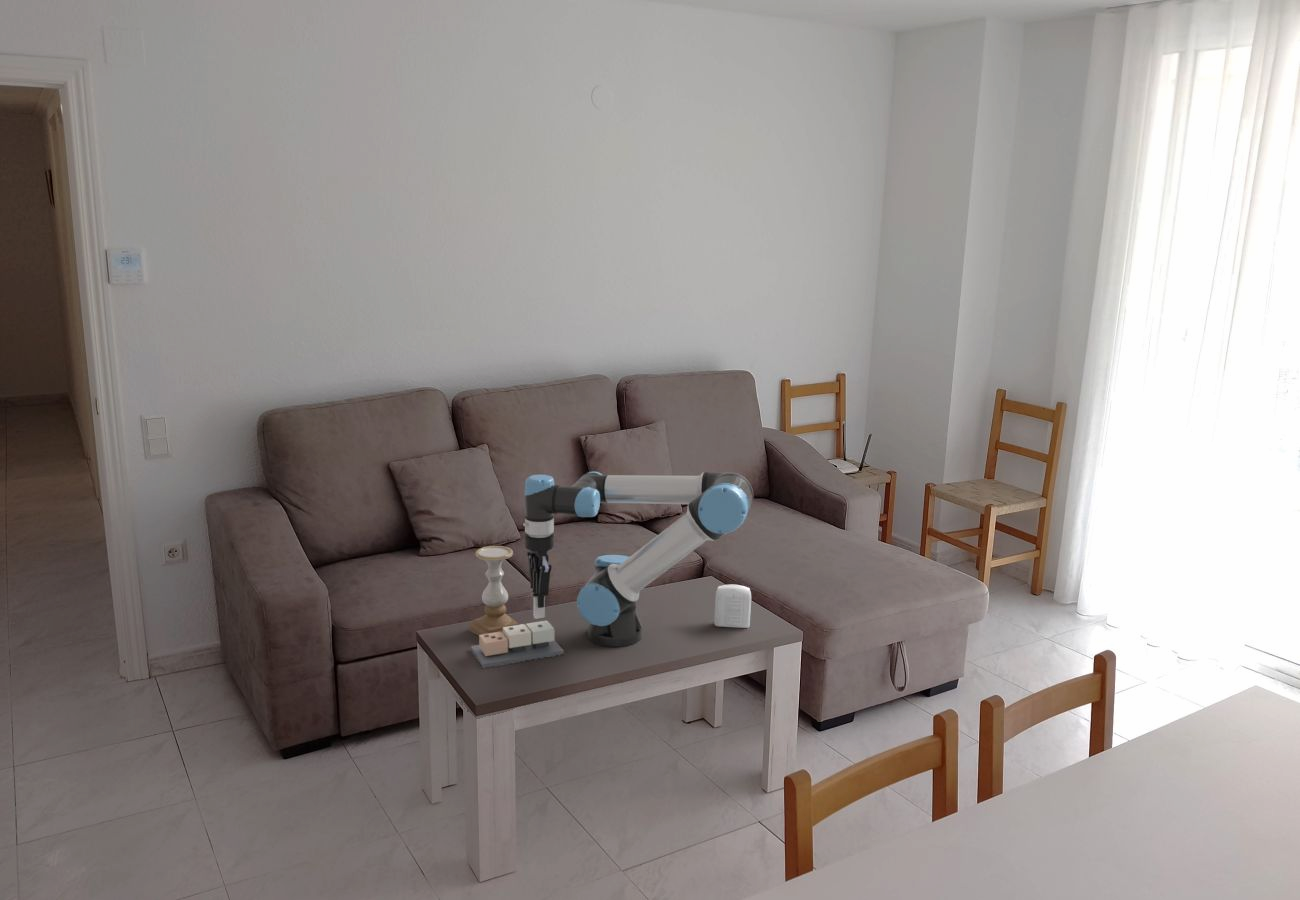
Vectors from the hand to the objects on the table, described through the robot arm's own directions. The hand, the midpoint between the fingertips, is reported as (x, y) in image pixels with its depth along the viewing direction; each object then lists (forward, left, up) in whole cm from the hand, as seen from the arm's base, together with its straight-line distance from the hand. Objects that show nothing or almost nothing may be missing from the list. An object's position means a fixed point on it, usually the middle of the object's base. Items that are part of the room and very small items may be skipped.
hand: (539, 617), depth 274 cm
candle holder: (+8, -15, -9) cm, 19 cm away
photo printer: (-56, +6, -9) cm, 57 cm away
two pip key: (+6, 0, -6) cm, 9 cm away
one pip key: (0, 0, -6) cm, 6 cm away
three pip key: (+13, 0, -7) cm, 15 cm away
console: (+6, 0, -9) cm, 11 cm away
